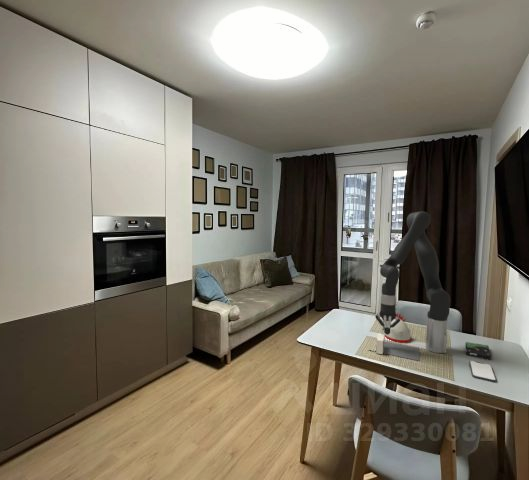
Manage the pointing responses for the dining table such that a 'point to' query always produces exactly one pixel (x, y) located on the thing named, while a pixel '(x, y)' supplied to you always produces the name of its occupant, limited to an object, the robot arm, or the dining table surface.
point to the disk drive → (478, 350)
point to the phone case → (482, 371)
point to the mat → (401, 351)
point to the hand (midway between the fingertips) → (387, 333)
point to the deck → (380, 343)
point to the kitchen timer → (399, 332)
